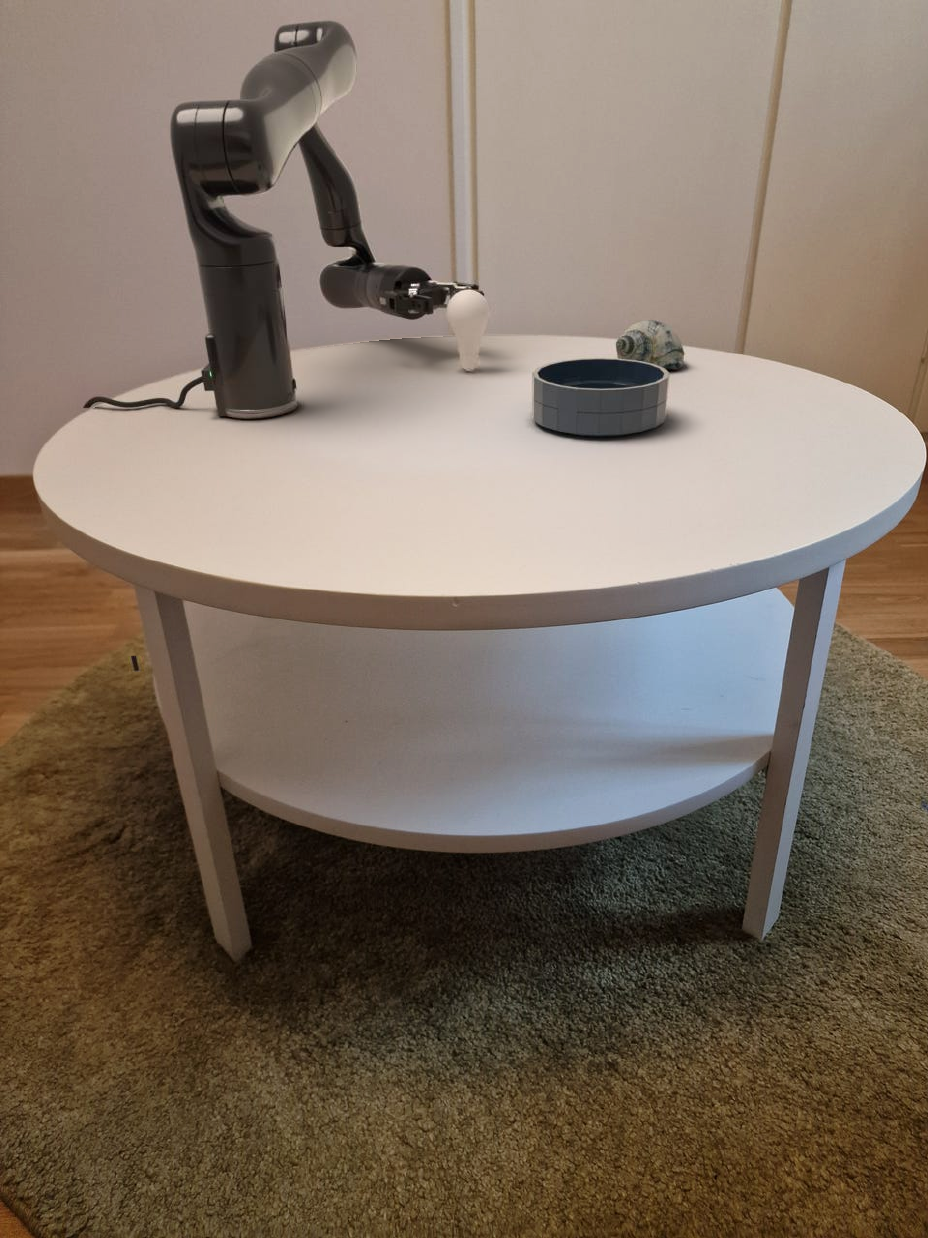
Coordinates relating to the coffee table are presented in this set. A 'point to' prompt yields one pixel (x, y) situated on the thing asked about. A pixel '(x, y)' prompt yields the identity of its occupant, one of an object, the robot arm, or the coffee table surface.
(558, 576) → the coffee table surface
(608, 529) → the coffee table surface
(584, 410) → the bowl
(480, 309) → the lightbulb
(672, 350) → the seashell
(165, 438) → the coffee table surface
